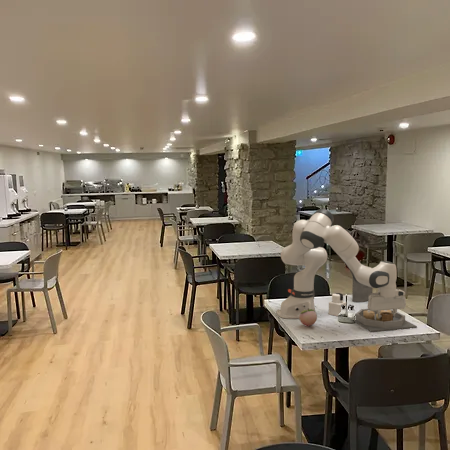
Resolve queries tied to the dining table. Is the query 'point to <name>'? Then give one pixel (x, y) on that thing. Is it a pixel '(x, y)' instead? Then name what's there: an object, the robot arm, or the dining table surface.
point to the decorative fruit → (308, 317)
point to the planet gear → (386, 316)
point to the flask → (360, 292)
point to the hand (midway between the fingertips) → (386, 317)
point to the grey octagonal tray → (374, 324)
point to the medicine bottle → (336, 304)
